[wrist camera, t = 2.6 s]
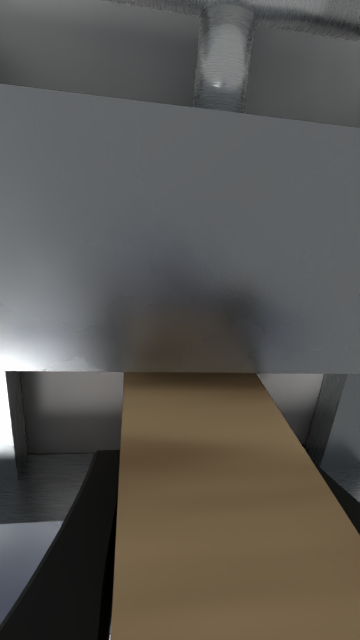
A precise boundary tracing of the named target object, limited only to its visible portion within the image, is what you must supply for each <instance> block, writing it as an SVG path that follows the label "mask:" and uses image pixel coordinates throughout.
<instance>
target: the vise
mask: <svg viewBox="0 0 360 640" xmlns="http://www.w3.org/2000/svg"><path fill="white" fill-rule="evenodd" d="M103 1H109V2H115V3H122V4H128V5H134V6H140V7H146V8H152V9H158V10H165V11H171V12H177V13H183V14H189V15H195V16H200V27H199V39H198V51H197V63H196V75H195V87H194V99H193V107H187V106H179V105H171V104H163V103H155V102H147V101H138V100H130V99H122V98H114V97H106V96H98V95H90V94H82V93H73V92H65V91H57V90H49V89H41V88H33V87H25V86H17V85H8V84H0V624H1V623H2V621H3V620H4V619H5V617H6V616H7V614H8V613H9V611H10V610H11V608H12V607H13V605H14V604H15V602H16V600H17V599H18V597H19V596H20V594H21V593H22V591H23V590H24V588H25V586H26V585H27V583H28V582H29V580H30V578H31V577H32V575H33V574H34V572H35V570H36V569H37V567H38V565H39V563H40V562H41V560H42V558H43V557H44V555H45V553H46V552H47V550H48V548H49V546H50V545H51V543H52V541H53V540H54V538H55V536H56V534H57V533H58V531H59V529H60V527H61V525H62V523H63V521H64V519H65V517H66V516H67V514H68V512H69V510H70V508H71V506H72V504H73V502H74V500H75V498H76V496H77V494H78V492H79V490H80V487H81V485H82V483H83V481H84V479H85V476H86V474H87V471H88V469H89V466H90V463H91V460H92V457H93V454H94V453H87V454H47V455H28V451H27V441H26V431H25V421H24V411H23V401H22V391H21V381H20V371H86V372H202V373H318V374H325V376H324V379H323V383H322V387H321V390H320V394H319V398H318V402H317V405H316V409H315V413H314V416H313V420H312V424H311V427H310V431H309V435H308V439H307V442H306V446H305V448H304V449H305V451H306V452H307V454H308V456H309V457H310V459H311V460H312V461H313V462H315V463H316V464H317V465H318V466H319V467H320V468H321V469H322V470H323V471H325V472H326V473H327V474H328V475H329V476H330V477H331V478H332V479H333V480H335V481H336V482H337V483H338V484H339V485H340V486H341V487H342V488H344V489H345V490H346V491H347V492H348V493H349V494H350V495H352V496H353V497H354V498H355V499H356V500H357V501H358V502H360V128H358V127H350V126H342V125H334V124H325V123H317V122H309V121H301V120H293V119H285V118H277V117H269V116H260V115H252V114H244V105H245V98H246V90H247V82H248V75H249V67H250V59H251V51H252V44H253V36H254V28H255V25H257V26H263V27H269V28H275V29H281V30H288V31H294V32H300V33H306V34H312V35H318V36H324V37H331V38H337V39H343V40H349V41H356V40H360V0H103ZM111 625H112V618H111ZM110 634H111V627H110Z"/></svg>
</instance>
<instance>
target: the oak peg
mask: <svg viewBox="0 0 360 640" xmlns="http://www.w3.org/2000/svg"><path fill="white" fill-rule="evenodd" d="M111 640H360V535H359V533H358V532H357V530H356V529H355V527H354V526H353V524H352V523H351V521H350V519H349V518H348V516H347V515H346V513H345V512H344V510H343V508H342V507H341V505H340V504H339V502H338V501H337V499H336V498H335V496H334V494H333V493H332V491H331V490H330V488H329V487H328V485H327V484H326V482H325V480H324V479H323V477H322V476H321V474H320V473H319V471H318V470H317V468H316V466H315V465H314V463H313V462H312V460H311V459H310V457H309V456H308V454H307V452H306V451H305V449H304V448H303V446H302V445H301V443H300V442H299V440H298V438H297V437H296V435H295V434H294V432H293V431H292V429H291V428H290V426H289V424H288V423H287V421H286V420H285V418H284V417H283V415H282V414H281V412H280V410H279V409H278V407H277V406H276V404H275V403H274V401H273V400H272V398H271V396H270V395H269V393H268V392H267V390H266V389H265V387H264V386H263V384H262V382H261V381H260V379H259V378H258V376H257V375H256V373H202V372H124V386H123V406H122V426H121V446H120V466H119V486H118V506H117V526H116V546H115V565H114V585H113V605H112V625H111Z"/></svg>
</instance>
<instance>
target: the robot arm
mask: <svg viewBox="0 0 360 640" xmlns="http://www.w3.org/2000/svg"><path fill="white" fill-rule="evenodd" d="M312 462H313V461H312ZM313 463H314V465H315V466H316V468H317V470H318V471H319V473H320V474H321V476H322V477H323V479H324V480H325V482H326V484H327V485H328V487H329V488H330V490H331V491H332V493H333V494H334V496H335V498H336V499H337V501H338V502H339V504H340V505H341V507H342V508H343V510H344V512H345V513H346V515H347V516H348V518H349V519H350V521H351V523H352V524H353V526H354V527H355V529H356V530H357V532H358V533H359V535H360V502H358V501H357V500H356V499H355V498H354V497H353V496H352V495H350V494H349V493H348V492H347V491H346V490H345V489H344V488H342V487H341V486H340V485H339V484H338V483H337V482H336V481H335V480H333V479H332V478H331V477H330V476H329V475H328V474H327V473H326V472H325V471H323V470H322V469H321V468H320V467H319V466H318V465H317V464H316V463H315V462H313ZM119 466H120V450H103V451H97V452H96V453H94V454H93V457H92V460H91V463H90V466H89V469H88V471H87V474H86V476H85V479H84V481H83V483H82V485H81V487H80V490H79V492H78V494H77V496H76V498H75V500H74V502H73V504H72V506H71V508H70V510H69V512H68V514H67V516H66V517H65V519H64V521H63V523H62V525H61V527H60V529H59V531H58V533H57V534H56V536H55V538H54V540H53V541H52V543H51V545H50V546H49V548H48V550H47V552H46V553H45V555H44V557H43V558H42V560H41V562H40V563H39V565H38V567H37V569H36V570H35V572H34V574H33V575H32V577H31V578H30V580H29V582H28V583H27V585H26V586H25V588H24V590H23V591H22V593H21V594H20V596H19V597H18V599H17V600H16V602H15V604H14V605H13V607H12V608H11V610H10V611H9V613H8V614H7V616H6V617H5V619H4V620H3V621H2V623H1V624H0V640H109V635H110V627H111V618H112V605H113V585H114V565H115V546H116V526H117V506H118V486H119Z"/></svg>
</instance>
